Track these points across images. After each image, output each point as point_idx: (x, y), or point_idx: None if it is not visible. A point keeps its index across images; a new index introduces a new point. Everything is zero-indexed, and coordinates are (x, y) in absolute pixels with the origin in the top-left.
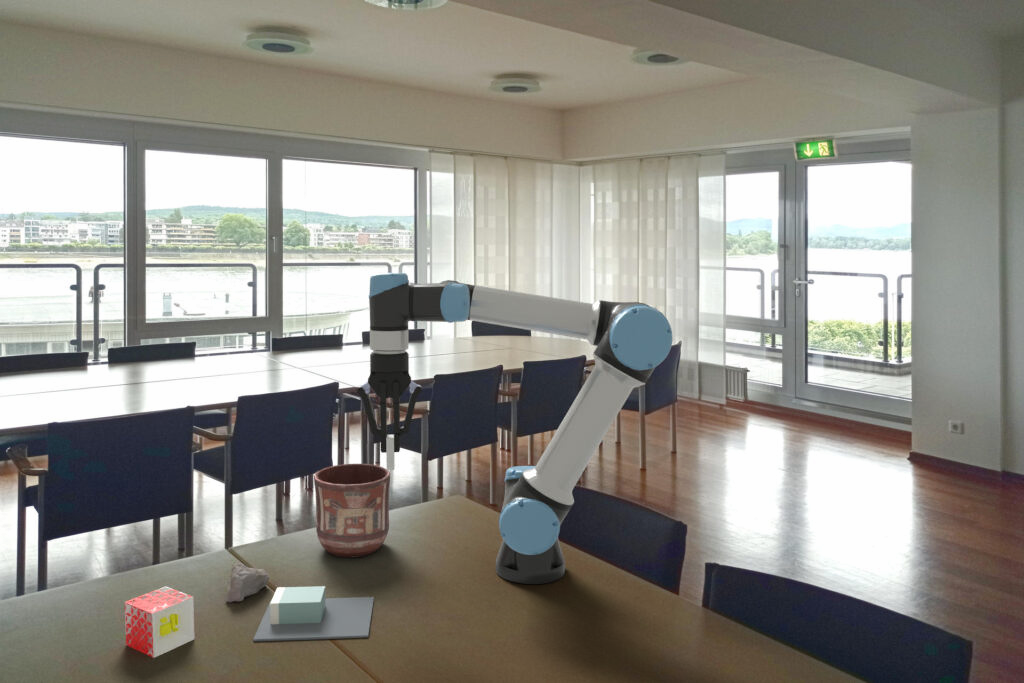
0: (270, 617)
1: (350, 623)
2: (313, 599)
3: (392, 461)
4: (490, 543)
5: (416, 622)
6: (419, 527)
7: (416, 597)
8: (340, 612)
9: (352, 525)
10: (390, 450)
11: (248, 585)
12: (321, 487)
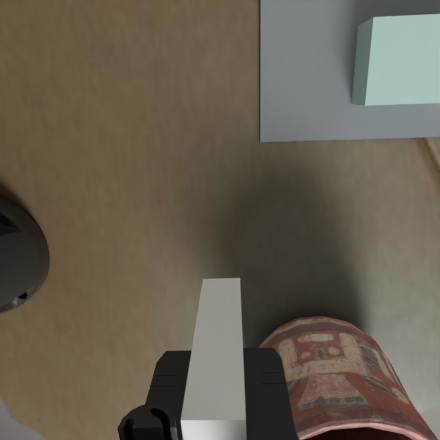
0: None
1: (298, 20)
2: (389, 31)
3: (208, 301)
4: (72, 361)
5: (172, 32)
6: None
7: (181, 145)
8: (320, 73)
9: (323, 345)
10: (215, 343)
11: None
12: (433, 433)
